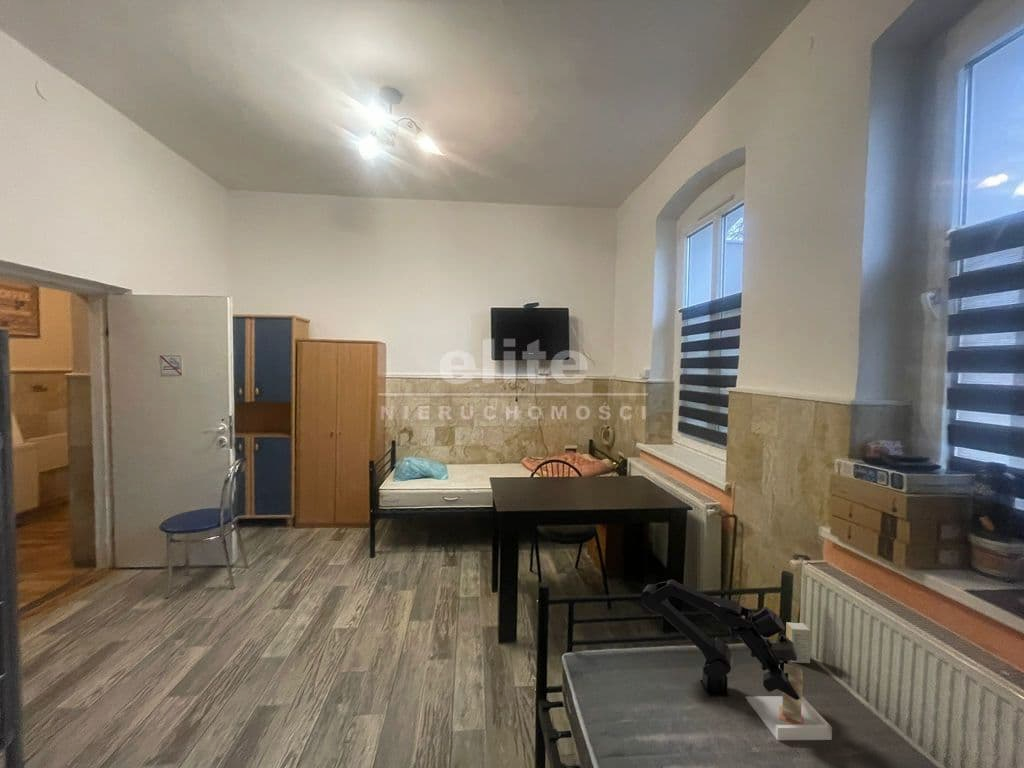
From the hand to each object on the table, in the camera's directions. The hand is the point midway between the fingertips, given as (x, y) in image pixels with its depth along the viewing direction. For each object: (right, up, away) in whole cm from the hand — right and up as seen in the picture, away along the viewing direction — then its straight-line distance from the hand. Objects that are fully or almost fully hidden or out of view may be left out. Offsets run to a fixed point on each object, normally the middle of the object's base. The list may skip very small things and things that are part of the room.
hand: (797, 694), depth 122 cm
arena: (-3, -8, +1) cm, 9 cm away
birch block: (-1, -7, +1) cm, 7 cm away
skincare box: (+19, -8, +28) cm, 34 cm away
